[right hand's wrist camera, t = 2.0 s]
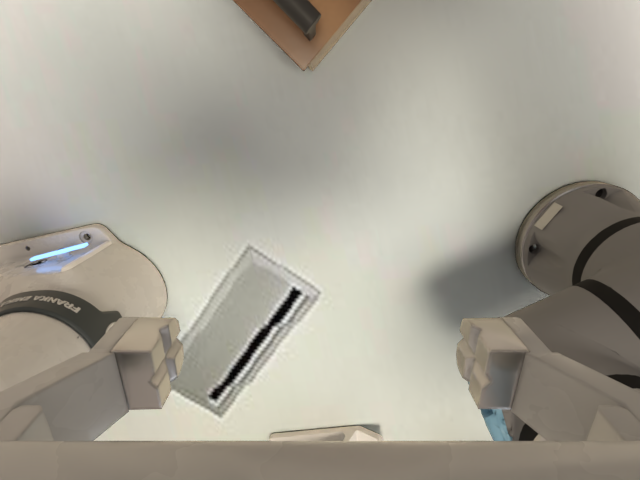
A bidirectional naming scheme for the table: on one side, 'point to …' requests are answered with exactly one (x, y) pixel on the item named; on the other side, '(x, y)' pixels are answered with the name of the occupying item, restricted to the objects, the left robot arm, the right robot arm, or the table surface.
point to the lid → (299, 23)
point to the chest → (339, 34)
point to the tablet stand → (329, 435)
